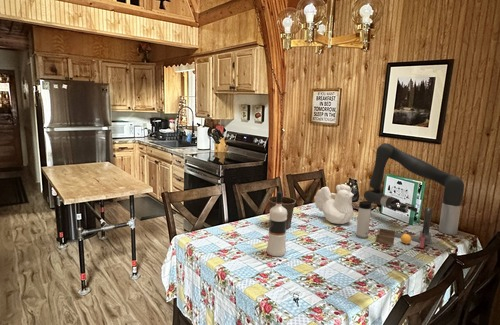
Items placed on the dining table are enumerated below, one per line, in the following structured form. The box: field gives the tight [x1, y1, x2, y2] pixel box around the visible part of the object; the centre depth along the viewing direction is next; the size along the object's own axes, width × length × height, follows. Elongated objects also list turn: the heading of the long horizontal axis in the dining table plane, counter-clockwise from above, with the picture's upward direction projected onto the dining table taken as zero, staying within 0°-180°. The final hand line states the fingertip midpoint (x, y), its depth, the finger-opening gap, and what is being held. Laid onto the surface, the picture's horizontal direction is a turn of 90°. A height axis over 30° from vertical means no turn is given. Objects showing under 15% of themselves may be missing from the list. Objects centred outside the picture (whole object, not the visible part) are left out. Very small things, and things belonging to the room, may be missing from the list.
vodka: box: [266, 191, 287, 257], centre depth 150 cm, size 9×9×30 cm
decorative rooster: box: [314, 183, 355, 225], centre depth 199 cm, size 25×16×25 cm, turn 39°
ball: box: [400, 233, 412, 245], centre depth 169 cm, size 5×5×5 cm
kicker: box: [419, 207, 433, 249], centre depth 167 cm, size 14×5×18 cm, turn 154°
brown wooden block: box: [375, 227, 396, 246], centre depth 173 cm, size 12×8×4 cm
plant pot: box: [267, 195, 297, 230], centre depth 187 cm, size 16×16×16 cm
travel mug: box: [355, 200, 373, 239], centre depth 175 cm, size 6×7×20 cm
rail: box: [394, 231, 433, 245], centre depth 176 cm, size 5×23×1 cm, turn 64°
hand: (411, 210), depth 181 cm, fingers open, 8 cm apart
